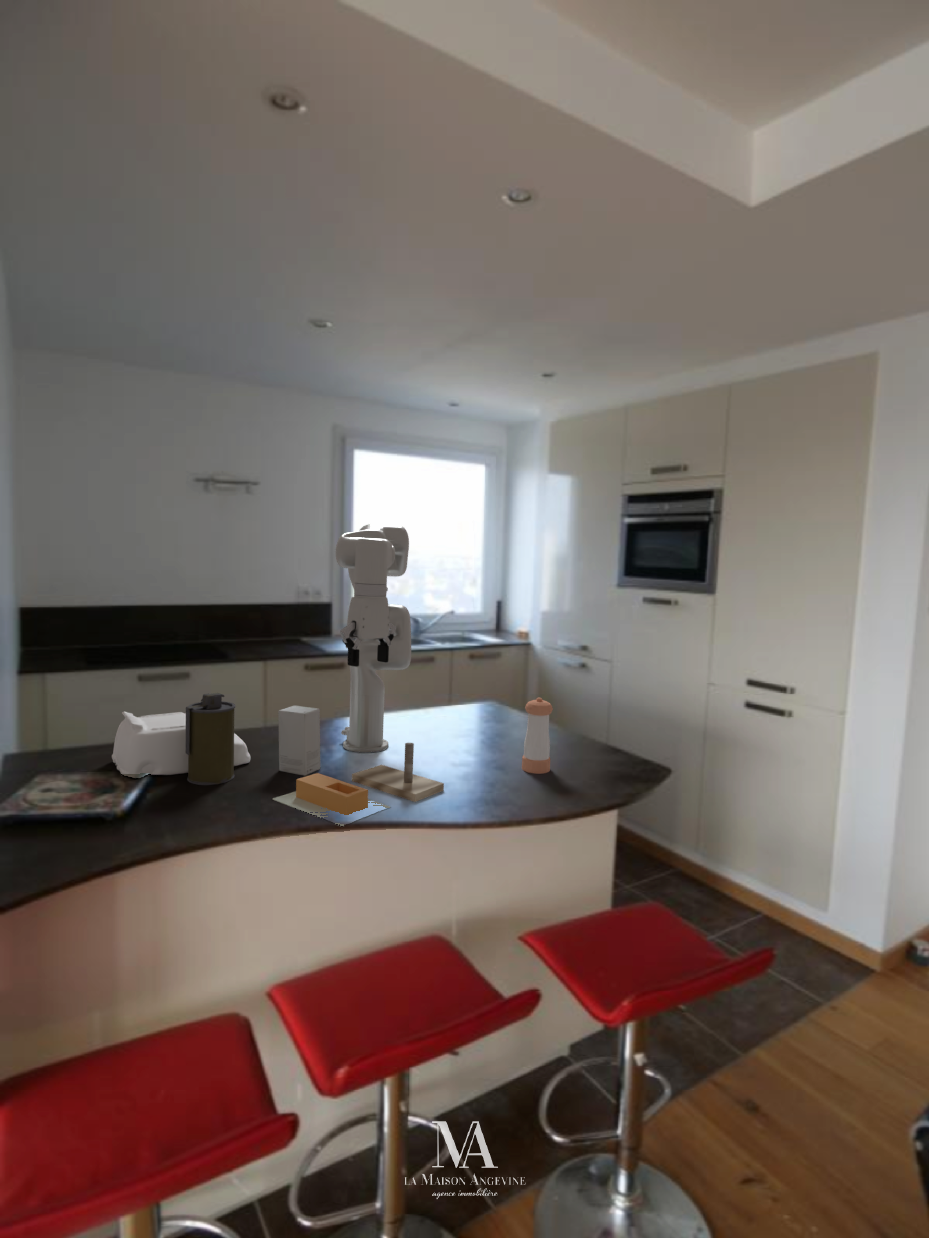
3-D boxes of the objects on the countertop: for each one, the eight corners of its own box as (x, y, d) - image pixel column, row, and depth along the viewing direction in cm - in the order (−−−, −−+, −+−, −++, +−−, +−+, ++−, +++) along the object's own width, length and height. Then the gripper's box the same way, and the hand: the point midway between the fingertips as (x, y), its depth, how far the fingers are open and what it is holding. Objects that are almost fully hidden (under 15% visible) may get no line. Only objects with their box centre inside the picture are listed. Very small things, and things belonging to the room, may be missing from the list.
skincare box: (320, 769, 167) (322, 708, 165) (304, 777, 161) (305, 713, 159) (294, 764, 170) (295, 704, 169) (276, 771, 164) (277, 709, 163)
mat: (272, 800, 145) (272, 798, 145) (322, 784, 156) (322, 782, 156) (342, 828, 132) (342, 826, 132) (390, 808, 143) (391, 806, 143)
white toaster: (108, 762, 166) (108, 709, 165) (231, 746, 184) (231, 699, 183) (121, 785, 151) (120, 727, 150) (253, 766, 168) (254, 713, 167)
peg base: (351, 782, 159) (352, 736, 158) (381, 772, 167) (382, 729, 166) (415, 803, 147) (416, 754, 146) (443, 791, 155) (445, 745, 154)
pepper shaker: (515, 769, 173) (519, 697, 171) (532, 764, 178) (536, 693, 177) (538, 776, 168) (542, 702, 167) (555, 770, 174) (559, 698, 172)
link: (367, 808, 142) (368, 789, 141) (346, 816, 137) (347, 797, 136) (317, 790, 151) (317, 772, 151) (296, 796, 146) (296, 779, 146)
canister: (222, 768, 165) (223, 688, 163) (242, 779, 157) (243, 695, 155) (178, 777, 157) (178, 693, 155) (196, 789, 150) (197, 701, 148)
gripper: (384, 590, 165) (382, 658, 167) (331, 591, 151) (329, 665, 153) (407, 592, 161) (404, 662, 162) (354, 593, 147) (352, 669, 149)
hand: (368, 663), depth 158 cm, fingers open, 9 cm apart
